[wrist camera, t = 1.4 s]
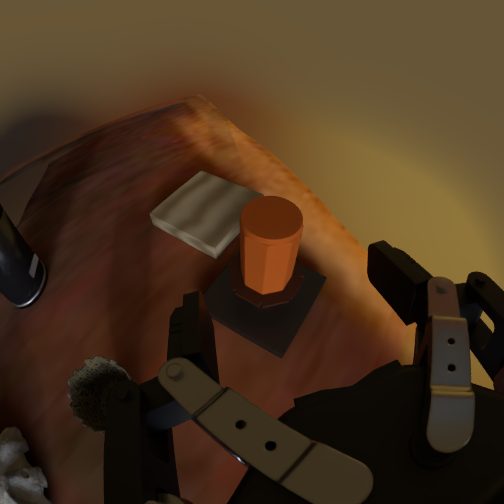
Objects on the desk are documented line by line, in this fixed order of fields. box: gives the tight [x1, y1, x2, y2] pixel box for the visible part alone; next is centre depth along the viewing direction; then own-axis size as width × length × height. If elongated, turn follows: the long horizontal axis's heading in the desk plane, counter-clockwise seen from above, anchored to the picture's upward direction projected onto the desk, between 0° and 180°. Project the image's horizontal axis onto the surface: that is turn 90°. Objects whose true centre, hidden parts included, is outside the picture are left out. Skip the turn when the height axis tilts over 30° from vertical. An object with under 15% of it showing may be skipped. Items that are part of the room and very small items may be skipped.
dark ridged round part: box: [67, 356, 139, 433], centre depth 22 cm, size 8×7×8 cm
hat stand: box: [202, 251, 327, 358], centre depth 29 cm, size 12×12×14 cm
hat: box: [228, 196, 304, 308], centre depth 27 cm, size 8×8×9 cm
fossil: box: [0, 426, 52, 504], centre depth 13 cm, size 18×11×15 cm
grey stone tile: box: [150, 171, 264, 259], centre depth 43 cm, size 13×13×2 cm
